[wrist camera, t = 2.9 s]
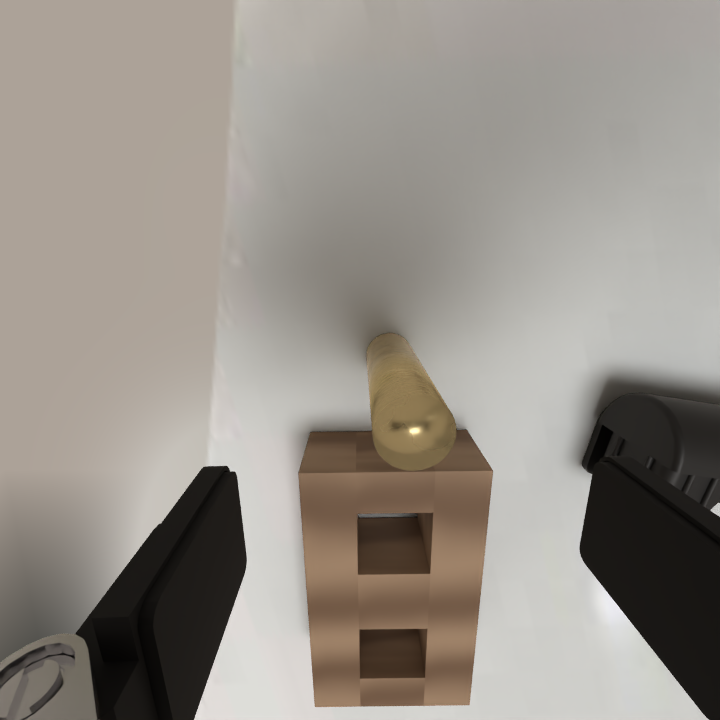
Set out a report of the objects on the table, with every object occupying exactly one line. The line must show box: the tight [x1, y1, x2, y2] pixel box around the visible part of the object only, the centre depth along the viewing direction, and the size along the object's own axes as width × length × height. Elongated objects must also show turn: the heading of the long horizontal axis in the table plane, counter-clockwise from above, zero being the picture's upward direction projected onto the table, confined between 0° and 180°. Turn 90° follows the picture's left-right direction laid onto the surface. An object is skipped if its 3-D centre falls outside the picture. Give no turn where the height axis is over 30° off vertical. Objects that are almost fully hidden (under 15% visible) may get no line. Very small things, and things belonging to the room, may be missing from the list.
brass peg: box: [367, 333, 456, 471], centre depth 18 cm, size 3×3×11 cm
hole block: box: [298, 430, 493, 707], centre depth 25 cm, size 19×11×5 cm, turn 1°
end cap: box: [582, 393, 720, 510], centre depth 22 cm, size 10×7×7 cm
